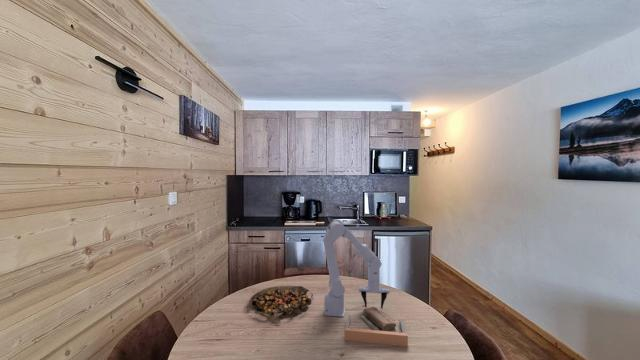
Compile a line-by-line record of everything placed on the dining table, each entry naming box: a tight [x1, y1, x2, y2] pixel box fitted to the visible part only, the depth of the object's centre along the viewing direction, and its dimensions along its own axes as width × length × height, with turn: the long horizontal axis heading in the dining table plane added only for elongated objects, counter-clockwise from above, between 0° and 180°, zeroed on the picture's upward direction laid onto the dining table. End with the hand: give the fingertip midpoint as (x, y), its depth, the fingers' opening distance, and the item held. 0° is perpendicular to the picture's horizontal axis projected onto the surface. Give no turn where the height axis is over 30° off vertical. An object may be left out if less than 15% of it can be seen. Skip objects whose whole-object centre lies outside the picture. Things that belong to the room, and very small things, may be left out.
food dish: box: [248, 285, 314, 321], centre depth 141 cm, size 35×33×8 cm
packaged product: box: [360, 306, 401, 333], centre depth 121 cm, size 18×5×10 cm
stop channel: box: [344, 314, 409, 347], centre depth 115 cm, size 24×16×4 cm, turn 80°
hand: (373, 307), depth 134 cm, fingers open, 7 cm apart
